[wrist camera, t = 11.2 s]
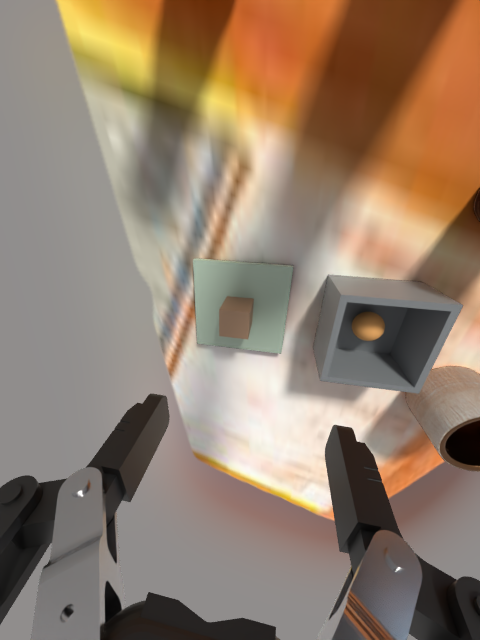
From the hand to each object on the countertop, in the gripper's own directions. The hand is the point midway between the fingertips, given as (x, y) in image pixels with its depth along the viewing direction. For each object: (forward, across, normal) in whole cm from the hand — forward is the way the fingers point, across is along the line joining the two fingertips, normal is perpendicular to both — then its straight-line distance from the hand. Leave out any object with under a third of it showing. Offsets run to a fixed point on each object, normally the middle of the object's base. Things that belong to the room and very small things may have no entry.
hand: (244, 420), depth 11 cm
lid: (+25, +4, +6) cm, 26 cm away
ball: (+23, -14, +6) cm, 27 cm away
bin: (+26, -14, +6) cm, 30 cm away
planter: (+25, -29, +17) cm, 42 cm away
